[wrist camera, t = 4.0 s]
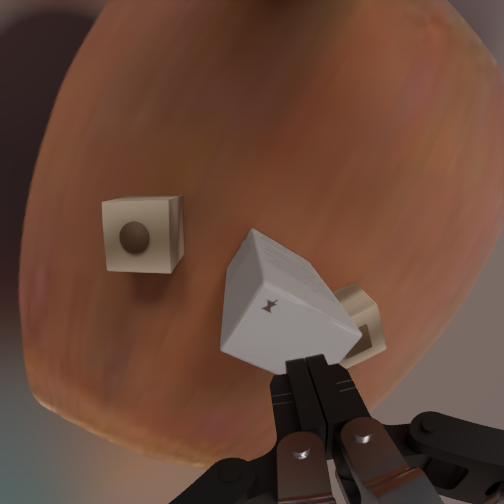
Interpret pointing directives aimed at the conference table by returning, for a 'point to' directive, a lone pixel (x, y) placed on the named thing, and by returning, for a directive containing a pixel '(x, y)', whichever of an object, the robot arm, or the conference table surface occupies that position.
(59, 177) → the conference table surface
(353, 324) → the skincare box
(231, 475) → the robot arm
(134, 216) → the marked block
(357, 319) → the marked block
